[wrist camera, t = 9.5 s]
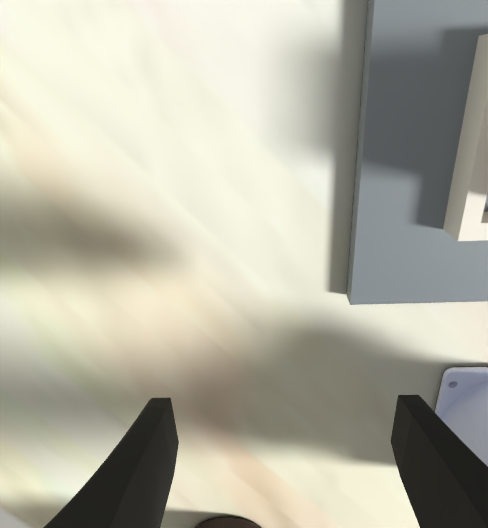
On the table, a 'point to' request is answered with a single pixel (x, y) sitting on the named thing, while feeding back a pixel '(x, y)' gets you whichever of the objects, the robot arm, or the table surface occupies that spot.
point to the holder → (422, 155)
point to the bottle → (227, 523)
